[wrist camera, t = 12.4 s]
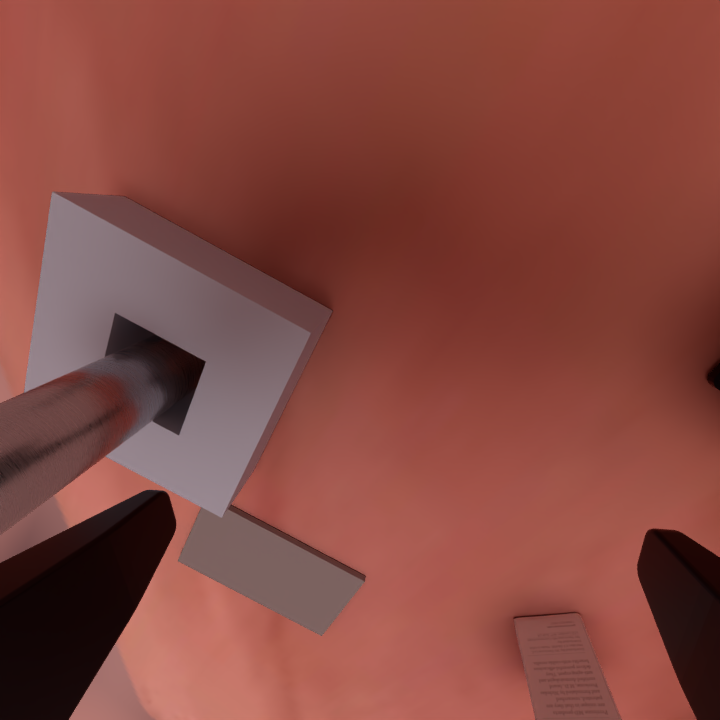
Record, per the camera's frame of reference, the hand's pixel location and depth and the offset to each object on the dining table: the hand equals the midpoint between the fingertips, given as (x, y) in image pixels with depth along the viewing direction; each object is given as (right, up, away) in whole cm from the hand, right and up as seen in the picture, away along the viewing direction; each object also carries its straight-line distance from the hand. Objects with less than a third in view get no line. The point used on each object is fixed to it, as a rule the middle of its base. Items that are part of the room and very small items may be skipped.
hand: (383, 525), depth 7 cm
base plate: (-7, -12, +20) cm, 24 cm away
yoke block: (-10, +4, +14) cm, 18 cm away
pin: (-10, +4, +14) cm, 18 cm away
